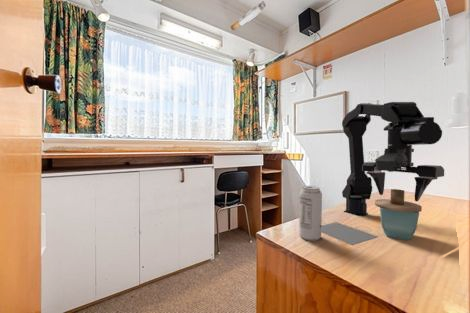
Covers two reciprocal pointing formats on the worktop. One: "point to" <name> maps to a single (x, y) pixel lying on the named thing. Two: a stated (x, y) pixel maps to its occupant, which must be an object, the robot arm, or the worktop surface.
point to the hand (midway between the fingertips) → (397, 197)
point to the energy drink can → (310, 213)
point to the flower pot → (399, 223)
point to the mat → (346, 233)
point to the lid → (398, 203)
